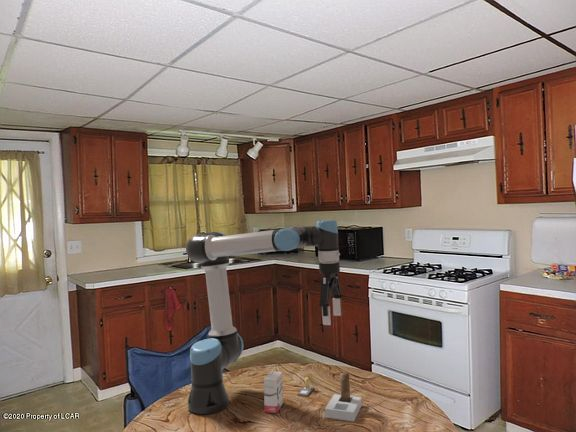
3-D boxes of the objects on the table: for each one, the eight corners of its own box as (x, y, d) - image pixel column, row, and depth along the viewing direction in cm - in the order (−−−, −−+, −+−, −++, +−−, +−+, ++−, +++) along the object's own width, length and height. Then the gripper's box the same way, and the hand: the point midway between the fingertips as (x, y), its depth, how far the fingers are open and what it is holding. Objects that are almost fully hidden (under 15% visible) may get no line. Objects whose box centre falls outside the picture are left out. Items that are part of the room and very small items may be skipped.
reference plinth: (297, 395, 161) (296, 383, 161) (304, 387, 168) (304, 375, 168) (307, 396, 159) (306, 384, 159) (313, 388, 167) (313, 376, 167)
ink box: (277, 413, 146) (276, 380, 146) (264, 412, 148) (262, 379, 148) (284, 402, 155) (282, 371, 155) (271, 402, 156) (269, 370, 156)
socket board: (325, 417, 142) (324, 408, 142) (334, 402, 153) (334, 394, 153) (353, 421, 138) (353, 412, 138) (361, 405, 149) (361, 397, 149)
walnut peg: (340, 409, 147) (338, 375, 147) (342, 405, 150) (341, 372, 150) (349, 410, 146) (347, 376, 146) (351, 406, 149) (349, 372, 149)
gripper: (329, 266, 139) (332, 329, 139) (347, 258, 162) (350, 312, 162) (308, 266, 142) (311, 328, 142) (328, 258, 165) (331, 311, 165)
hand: (332, 320), depth 152 cm, fingers open, 13 cm apart
